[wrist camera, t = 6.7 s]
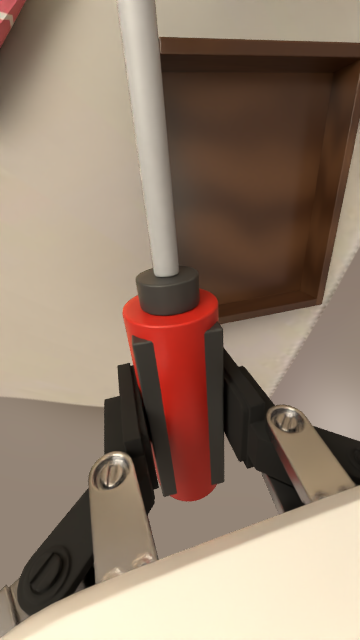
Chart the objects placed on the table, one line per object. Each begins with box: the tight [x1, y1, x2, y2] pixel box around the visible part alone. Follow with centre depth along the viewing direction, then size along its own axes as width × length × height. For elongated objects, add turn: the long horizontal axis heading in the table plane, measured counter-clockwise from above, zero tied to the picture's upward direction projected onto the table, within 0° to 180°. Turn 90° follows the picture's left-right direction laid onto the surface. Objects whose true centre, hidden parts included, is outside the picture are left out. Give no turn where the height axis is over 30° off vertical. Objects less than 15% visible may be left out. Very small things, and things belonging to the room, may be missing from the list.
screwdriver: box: [117, 0, 224, 501], centre depth 9 cm, size 17×3×3 cm, turn 5°
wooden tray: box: [158, 37, 360, 324], centre depth 23 cm, size 21×17×3 cm
